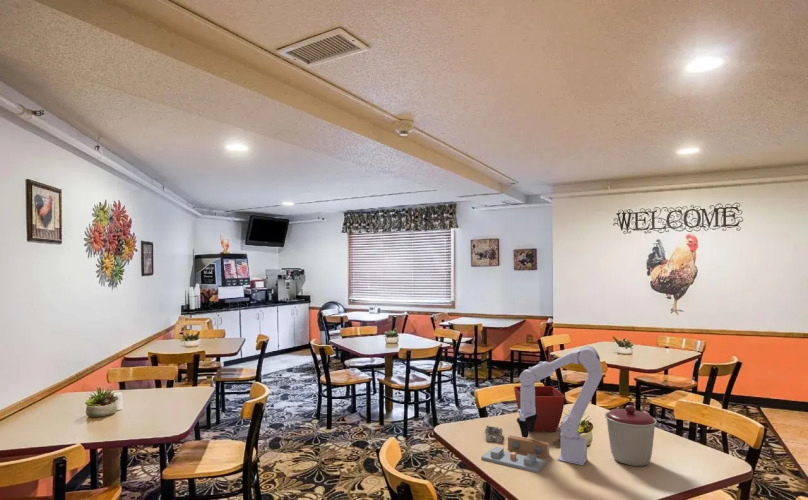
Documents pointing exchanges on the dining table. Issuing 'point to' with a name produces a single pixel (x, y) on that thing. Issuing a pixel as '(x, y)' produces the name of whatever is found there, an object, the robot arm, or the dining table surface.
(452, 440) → the dining table surface
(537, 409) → the plant pot
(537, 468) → the display stand
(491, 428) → the stone castle ruin
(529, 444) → the brown bar
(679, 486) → the dining table surface
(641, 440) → the canister
